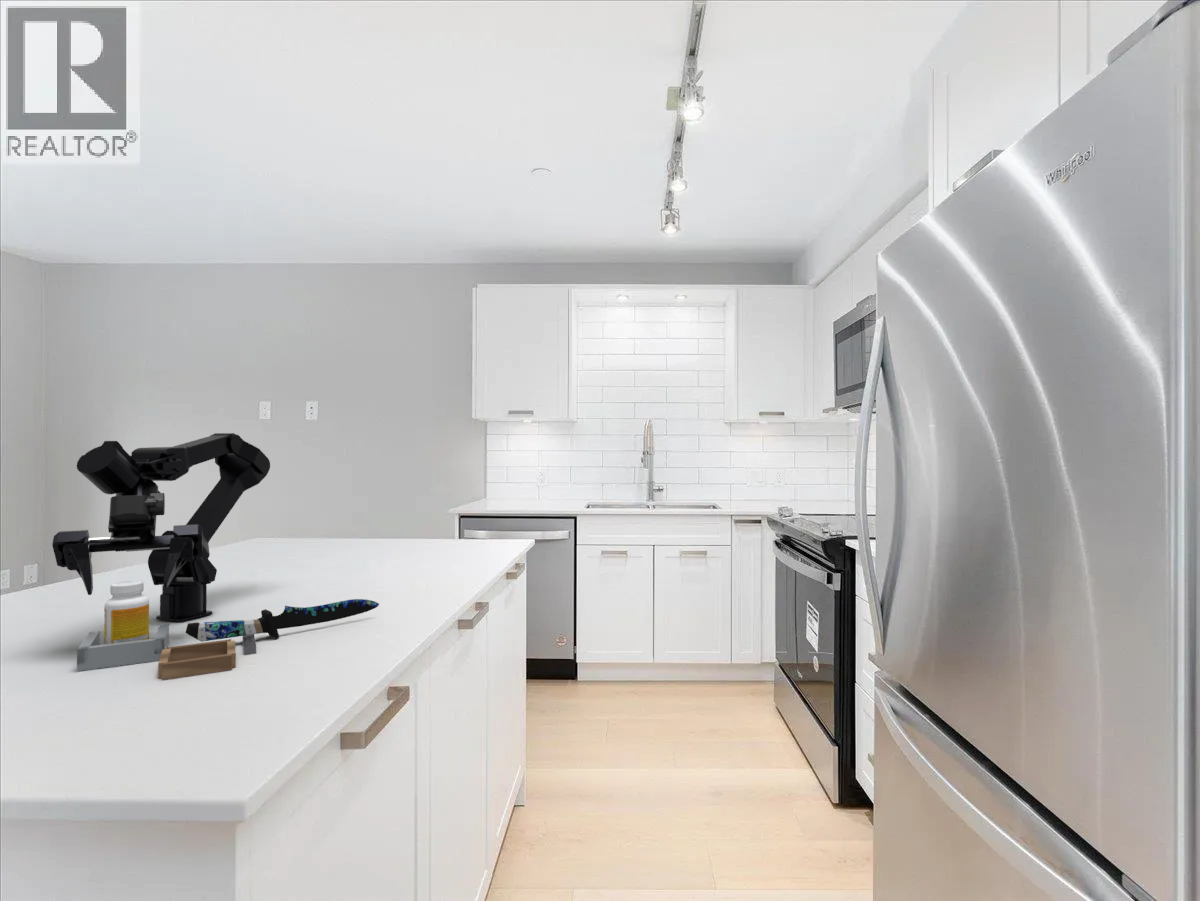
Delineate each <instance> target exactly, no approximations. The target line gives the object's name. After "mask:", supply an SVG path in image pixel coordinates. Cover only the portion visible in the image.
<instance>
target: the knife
mask: <svg viewBox="0 0 1200 901" xmlns="http://www.w3.org/2000/svg"><path fill="white" fill-rule="evenodd" d="M379 605H380V603H379V602H376V601H374V600H370V599H363V598H353V599H352V598H351V599H347V600H340V601H336V602H335V601H334V602H332V603H330V602H329V603H326V604H321V605H315V606H307V607H303V606H302V607H301V606H300V607H299V606H298V607H297V606H289V605H284V610H283V611H282V613H280V614H278V615H273V613H272V611H270V610H268V609H266V608H265V609H263V610H261V611H260V614H261V617H259V618H256V619H241V620H238V619H237V620H219V621H218V620H216V621H200V622H189V623H187V626H186V629H185V633H186V634H187V635H189V636H190V637H192V638H194V639H195V640H197V641H199V642H200V643H204V642H211V641H218V640H225V639H229V638H230V639H231V638H237V637H243V636H245V635H252V634H254V635H259V634H268V636H269V637H271V638H272V639H274V638H275V639H274V640H277V639H278V638H280V634H279V631H278V630H281V629H282V630H284V629H288V628H297V627H299V628H300V627H304V626H309V625H311V626H312V625H315V624H316V625H317V624H320V623H321V624H322V623H326V622H327V623H328V622H331V621H337V620H341V619H345V618H349V617H352V616H353V617H354V616H357V615H360V614H364V613H366V612H367V613H368V612H369V611H372V610H374V609H377V608H378V607H379Z"/></svg>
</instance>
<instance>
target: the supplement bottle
mask: <svg viewBox="0 0 1200 901" xmlns="http://www.w3.org/2000/svg"><path fill="white" fill-rule="evenodd" d="M109 587H110V591H109V593H110V595H111V596H112V597H111V598H110V599H109V598H108V600H106V601H105V603H104V607H103V608H104V636H103V638H104V639H103V640H104V641H103V644H112V643H121V642H129V641H137V640H146V639H150V599H149V597H148V596H147V595H144V594H143V592H144V588H145V585H144V581H142V580H130V581H119V582H114V583H112V584H110V586H109Z"/></svg>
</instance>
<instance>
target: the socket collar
mask: <svg viewBox="0 0 1200 901" xmlns="http://www.w3.org/2000/svg"><path fill="white" fill-rule="evenodd" d="M236 654H237V652H236V640H232V639H231V638H230V639H229V638H228V639H220V640H212V641H205V642H197V643H190V644H184V645H175V646H168V647H167V649H164V650H162V653H161V656H160V659H159V661H158V665H157V666H158V667H157V672H158V674H157V679H161V680H162V681H163V680H164V681H165V680H166V681H167V680H173V679H177V678H179V679H180V678H184V677H191V676H199V674H200V675H204V674H205V675H206V673H207V674H211V673H212V672H213V673H218V672H219V671H220V672H226V671H225V670H227V671H232V670H233V668H236V663H237V662H236V659H237V657H236V656H237V655H236ZM213 673H212V674H213Z"/></svg>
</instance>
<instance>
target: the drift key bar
mask: <svg viewBox="0 0 1200 901" xmlns="http://www.w3.org/2000/svg"><path fill="white" fill-rule="evenodd" d="M242 648H243V655H244V654H246V655H252V654H251V653H253V654H257V644H256V639H255V634H252V635H245V636H242Z"/></svg>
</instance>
